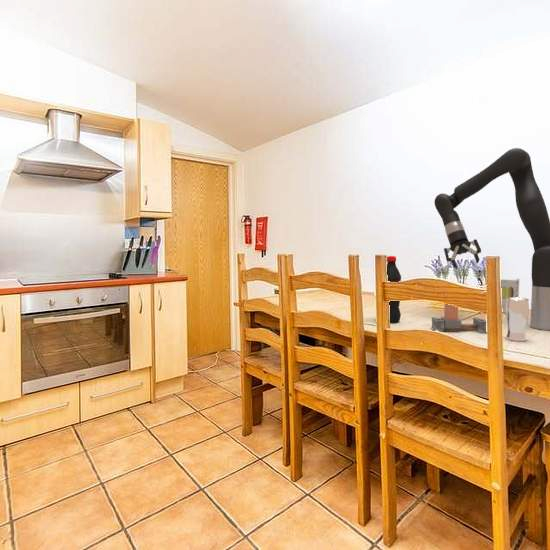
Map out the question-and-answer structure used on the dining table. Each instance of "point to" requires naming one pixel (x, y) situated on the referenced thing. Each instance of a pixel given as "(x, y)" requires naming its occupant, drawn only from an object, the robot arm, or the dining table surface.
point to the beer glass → (517, 318)
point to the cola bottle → (393, 277)
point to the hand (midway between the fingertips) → (467, 265)
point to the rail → (477, 325)
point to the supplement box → (509, 290)
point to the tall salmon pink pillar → (451, 317)
